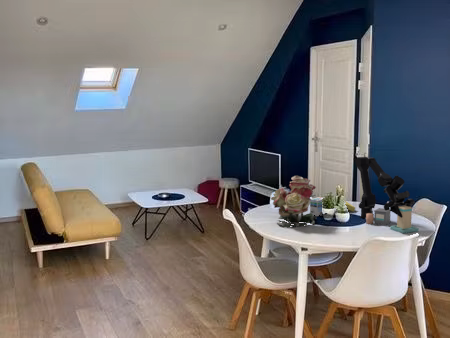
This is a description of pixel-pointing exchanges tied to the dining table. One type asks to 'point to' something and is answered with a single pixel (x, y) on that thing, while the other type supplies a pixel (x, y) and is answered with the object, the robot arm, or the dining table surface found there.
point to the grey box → (382, 216)
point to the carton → (404, 217)
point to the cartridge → (369, 218)
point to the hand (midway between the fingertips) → (405, 216)
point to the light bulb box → (316, 206)
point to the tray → (401, 230)
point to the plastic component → (350, 206)
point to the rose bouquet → (294, 202)
